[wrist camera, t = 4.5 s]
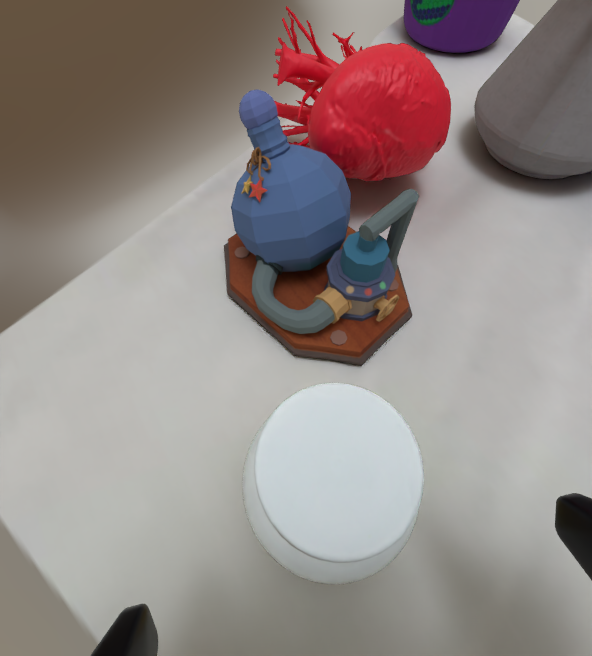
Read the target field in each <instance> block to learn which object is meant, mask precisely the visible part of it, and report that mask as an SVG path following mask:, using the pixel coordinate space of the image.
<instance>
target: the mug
mask: <svg viewBox="0 0 592 656" xmlns="http://www.w3.org/2000/svg"><path fill="white" fill-rule="evenodd" d="M519 1H520V0H405V7H404V24H405V28H406V31H407V33H408V34H409V36H410V37H411V38H412V39H413V40H414V41H416V42H418V43H419V44H421V45H423V46H425V47H428V48H430V49H433V50H437V51H442V52H451V53H464V52H470V51H476V50H479V49H482V48H485V47H487V46H489V45H490V44H492V43H493V42H494V41H496V40H497V39H498V37H499V36H500V35H501V34H502V32H503V30H504V29H505V27H506V25H507V23H508V22H509V20H510V18H511V16H512V14H513V12H514V11H515V9H516V7H517V4H518V3H519Z"/></svg>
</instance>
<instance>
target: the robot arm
mask: <svg viewBox="0 0 592 656" xmlns="http://www.w3.org/2000/svg"><path fill="white" fill-rule="evenodd" d="M555 528H556V531H557V534H558V535H559V537H560V539H561V540H562V541H563V543H564V544H565V545H566V547H567V548H568V549H569V551H570V552H571V553H572V555H573V556H574V557H575V559H576V560H577V561H578V563H579V564H580V565H581V567H582V568H583V569H584V571H585V572H586V573H587V575H588V576H589V577H590V579H591V580H592V499H591V498H588V497H586V496H583V495H581V494H577V493H572V494H568V495H564V496H560V497H559V498H558V499H557V501H556V515H555ZM157 653H158V634H157V630H156V627H155V624H154V622H153V619H152V616H151V613H150V610H149V608H148V606H147V605H146V604H139V605H135V606H131V607H128V608H126V609H124V610H123V611H122V612H121V613H120V615H119V616H118V618H117V619H116V620H115V622H114V623H113V625H112V626H111V627H110V629H109V630H108V632H107V633H106V634H105V636H104V637H103V639H102V640H101V642H100V643H99V644H98V646H97V647H96V649H95V650H94V651H93V653H92V654H91V656H157Z"/></svg>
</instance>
